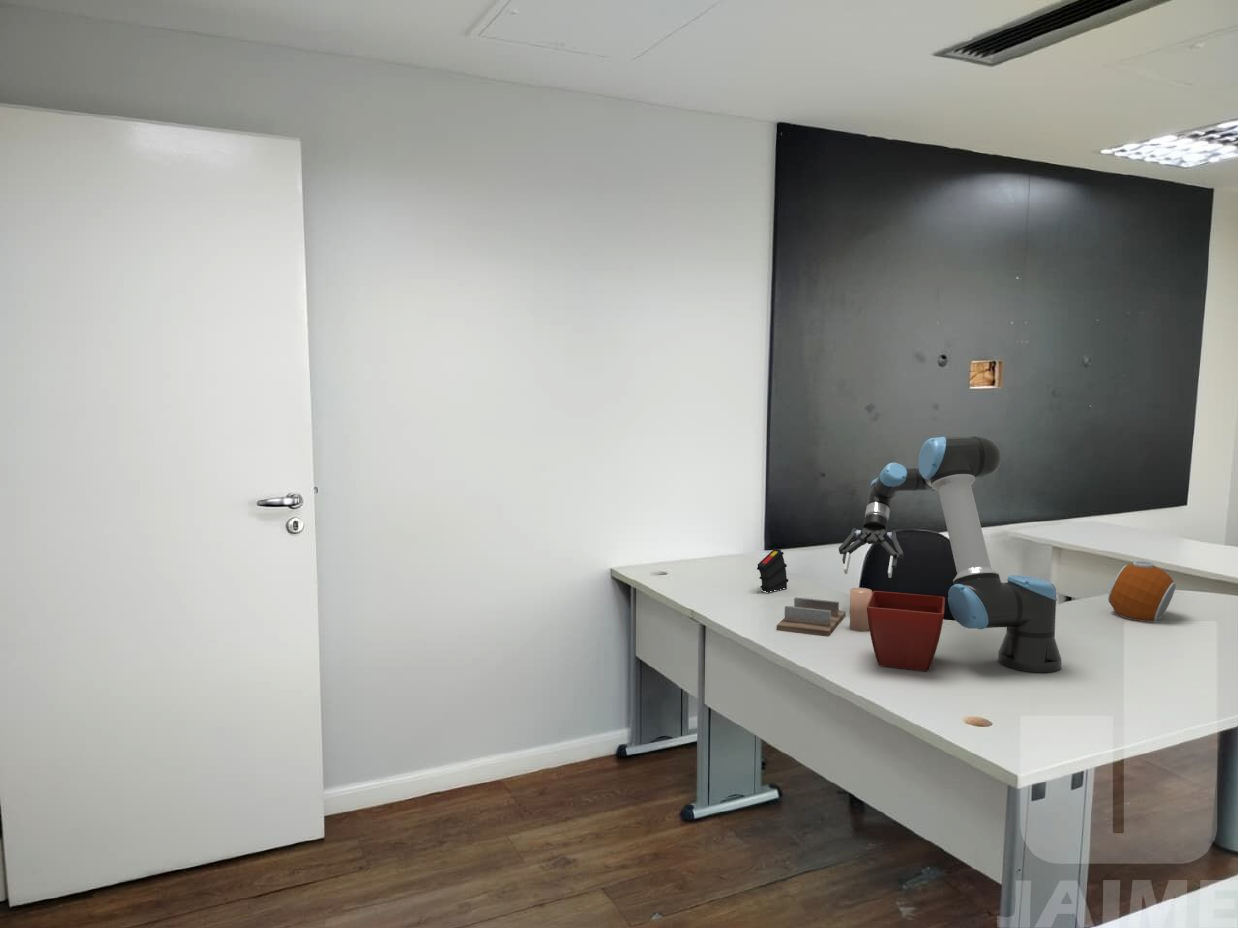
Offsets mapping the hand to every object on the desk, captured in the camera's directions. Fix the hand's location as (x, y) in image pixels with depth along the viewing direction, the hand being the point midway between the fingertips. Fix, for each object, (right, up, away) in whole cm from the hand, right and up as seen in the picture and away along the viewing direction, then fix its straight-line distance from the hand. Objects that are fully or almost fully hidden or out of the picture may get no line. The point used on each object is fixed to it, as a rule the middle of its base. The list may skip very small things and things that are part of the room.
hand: (867, 573), depth 269 cm
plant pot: (-1, -19, -40) cm, 44 cm away
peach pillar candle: (-4, -16, -8) cm, 18 cm away
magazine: (-23, -12, +40) cm, 48 cm away
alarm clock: (+87, -14, +1) cm, 88 cm away
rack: (-18, -15, -1) cm, 24 cm away
